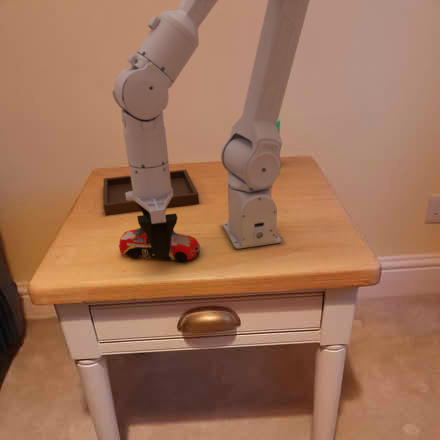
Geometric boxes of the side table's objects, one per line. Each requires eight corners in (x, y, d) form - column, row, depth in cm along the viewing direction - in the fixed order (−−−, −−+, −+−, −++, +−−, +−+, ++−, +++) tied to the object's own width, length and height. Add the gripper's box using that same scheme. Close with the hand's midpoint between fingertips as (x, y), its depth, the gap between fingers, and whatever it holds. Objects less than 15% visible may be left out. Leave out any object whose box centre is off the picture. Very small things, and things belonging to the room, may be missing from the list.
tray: (199, 203, 85) (198, 193, 84) (105, 215, 82) (103, 205, 81) (186, 178, 98) (186, 169, 97) (105, 187, 95) (103, 178, 94)
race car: (204, 248, 70) (203, 226, 68) (195, 265, 66) (193, 242, 63) (130, 242, 73) (126, 220, 70) (117, 257, 68) (112, 235, 66)
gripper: (118, 150, 66) (132, 229, 74) (122, 182, 54) (137, 271, 62) (163, 146, 67) (172, 224, 75) (176, 176, 55) (185, 265, 63)
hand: (159, 245), depth 68 cm, fingers closed on race car, 6 cm apart
